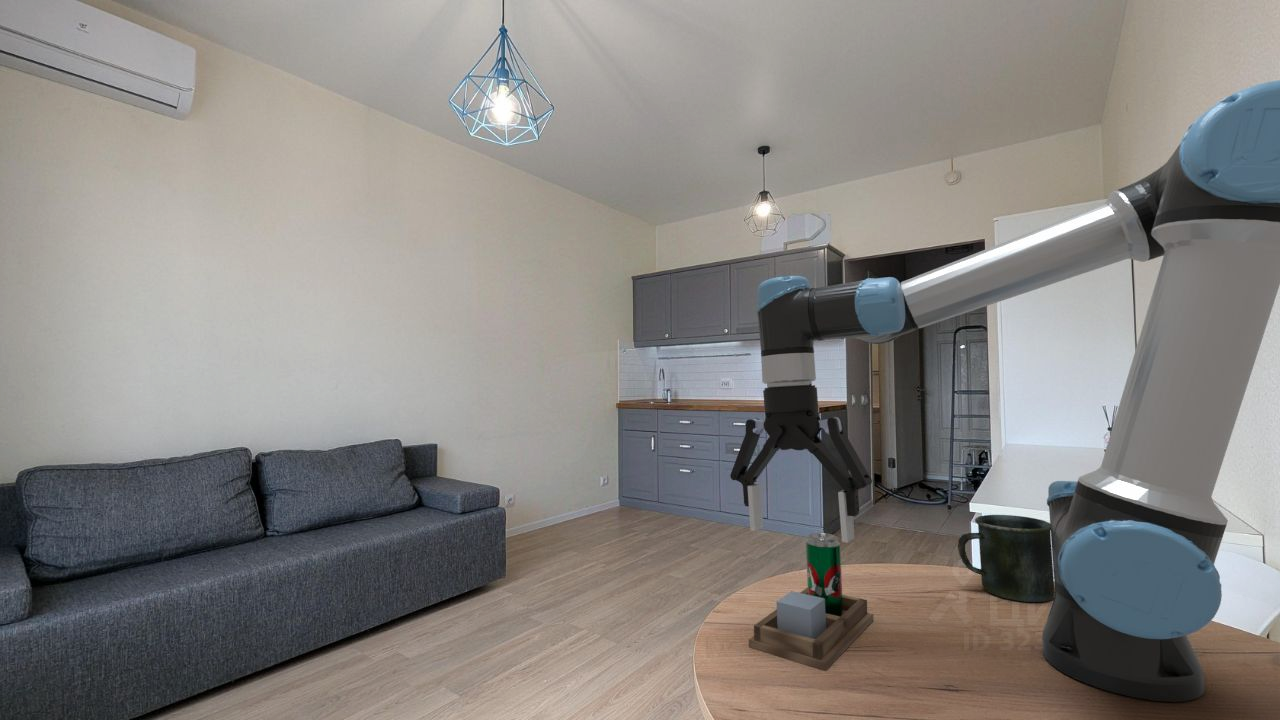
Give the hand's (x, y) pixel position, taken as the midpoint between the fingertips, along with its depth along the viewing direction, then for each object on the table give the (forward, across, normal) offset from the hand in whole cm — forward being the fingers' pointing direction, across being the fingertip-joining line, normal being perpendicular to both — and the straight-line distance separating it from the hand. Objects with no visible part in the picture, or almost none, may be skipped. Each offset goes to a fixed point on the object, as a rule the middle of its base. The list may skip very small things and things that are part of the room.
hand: (800, 534), depth 78 cm
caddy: (+15, +1, -4) cm, 16 cm away
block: (+14, +1, 0) cm, 14 cm away
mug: (+16, -19, -39) cm, 46 cm away
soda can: (+14, +1, -9) cm, 17 cm away
